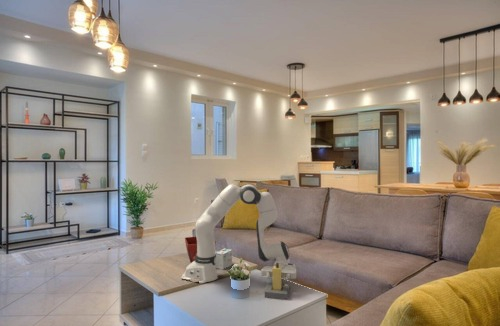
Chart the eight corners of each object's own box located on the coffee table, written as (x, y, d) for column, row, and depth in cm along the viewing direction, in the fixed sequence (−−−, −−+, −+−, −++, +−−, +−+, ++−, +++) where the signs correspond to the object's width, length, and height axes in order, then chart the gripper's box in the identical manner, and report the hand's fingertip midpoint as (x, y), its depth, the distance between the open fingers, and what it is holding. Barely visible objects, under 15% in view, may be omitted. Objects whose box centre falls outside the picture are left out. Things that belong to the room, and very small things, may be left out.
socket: (264, 297, 170) (264, 290, 170) (268, 287, 182) (268, 281, 182) (286, 299, 167) (287, 292, 167) (289, 289, 179) (289, 283, 179)
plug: (272, 293, 173) (272, 264, 173) (273, 290, 177) (273, 261, 176) (280, 294, 172) (280, 264, 172) (281, 291, 176) (281, 262, 175)
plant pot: (184, 260, 227) (184, 237, 227) (211, 257, 233) (211, 234, 232) (187, 269, 209) (187, 244, 208) (216, 266, 215) (216, 242, 214)
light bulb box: (224, 263, 221) (224, 247, 221) (232, 264, 218) (232, 249, 217) (215, 268, 212) (215, 252, 212) (223, 270, 209) (223, 253, 208)
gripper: (263, 262, 189) (258, 270, 176) (297, 264, 185) (295, 274, 171) (263, 272, 189) (258, 281, 176) (297, 275, 185) (295, 285, 171)
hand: (277, 278), depth 173 cm, fingers open, 8 cm apart
